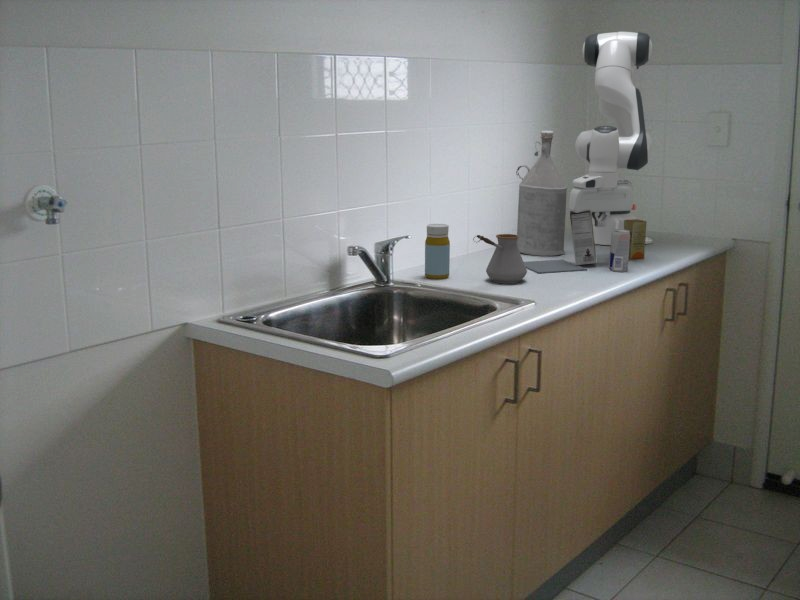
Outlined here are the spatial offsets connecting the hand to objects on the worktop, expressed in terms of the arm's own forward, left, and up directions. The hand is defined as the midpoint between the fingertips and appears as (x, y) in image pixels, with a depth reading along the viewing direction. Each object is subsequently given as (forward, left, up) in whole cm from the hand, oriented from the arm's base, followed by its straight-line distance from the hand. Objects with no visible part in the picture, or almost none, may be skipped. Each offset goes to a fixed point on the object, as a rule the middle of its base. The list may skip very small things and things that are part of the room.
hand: (600, 226), depth 271 cm
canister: (+9, -23, -12) cm, 28 cm away
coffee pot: (+41, +17, -12) cm, 46 cm away
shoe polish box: (-16, -6, -12) cm, 21 cm away
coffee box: (+4, 0, -11) cm, 12 cm away
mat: (+16, 0, -12) cm, 20 cm away
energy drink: (-1, +10, -12) cm, 16 cm away
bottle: (+54, +4, -12) cm, 55 cm away
